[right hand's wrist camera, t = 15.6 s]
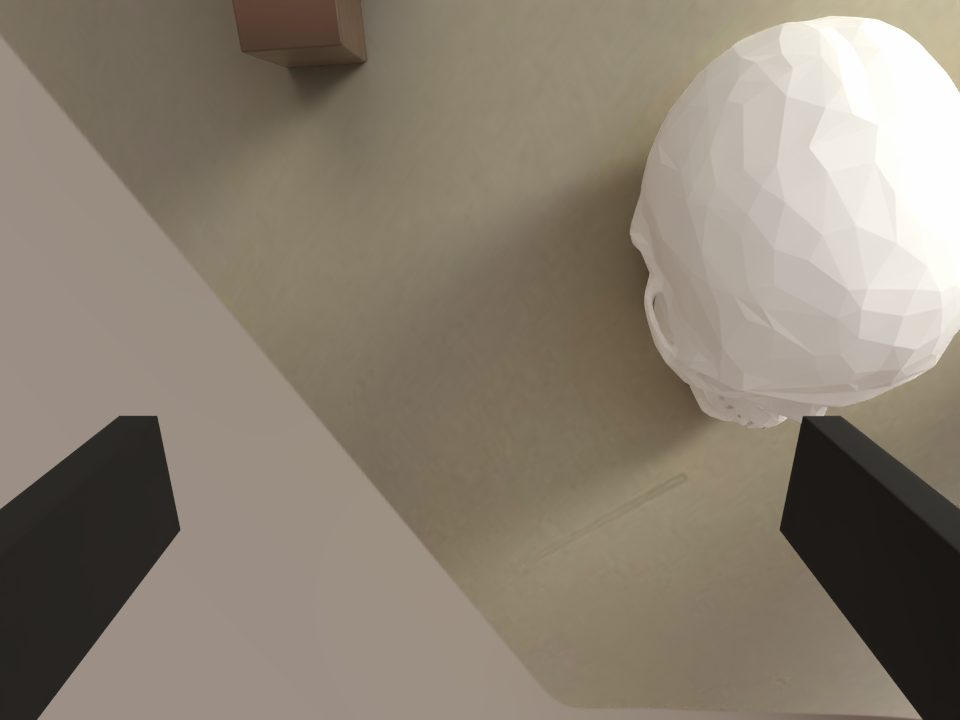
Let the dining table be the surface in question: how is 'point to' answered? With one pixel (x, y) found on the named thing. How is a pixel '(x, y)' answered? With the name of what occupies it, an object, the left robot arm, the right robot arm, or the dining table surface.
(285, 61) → the walnut block
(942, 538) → the right robot arm
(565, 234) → the dining table surface
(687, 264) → the skull
